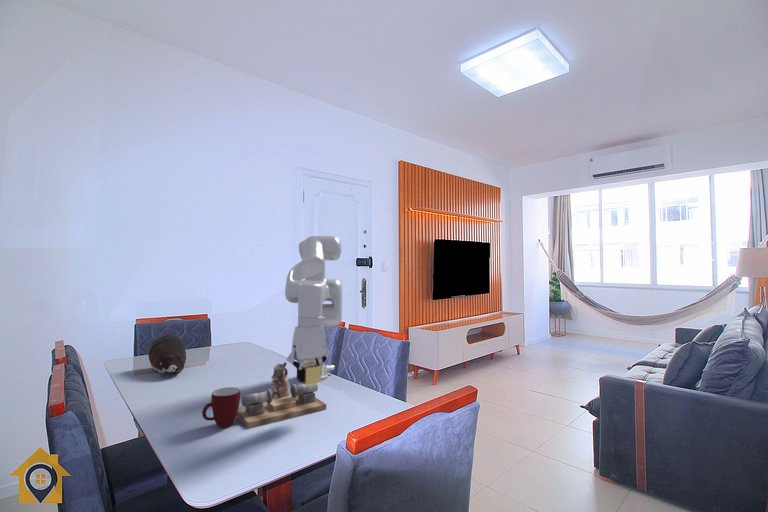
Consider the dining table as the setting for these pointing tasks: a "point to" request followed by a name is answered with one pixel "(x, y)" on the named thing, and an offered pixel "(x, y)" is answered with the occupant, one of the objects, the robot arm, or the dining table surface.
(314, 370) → the block
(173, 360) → the clay pot
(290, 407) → the shaft jig
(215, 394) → the mug
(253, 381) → the dining table surface
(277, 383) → the figurine
